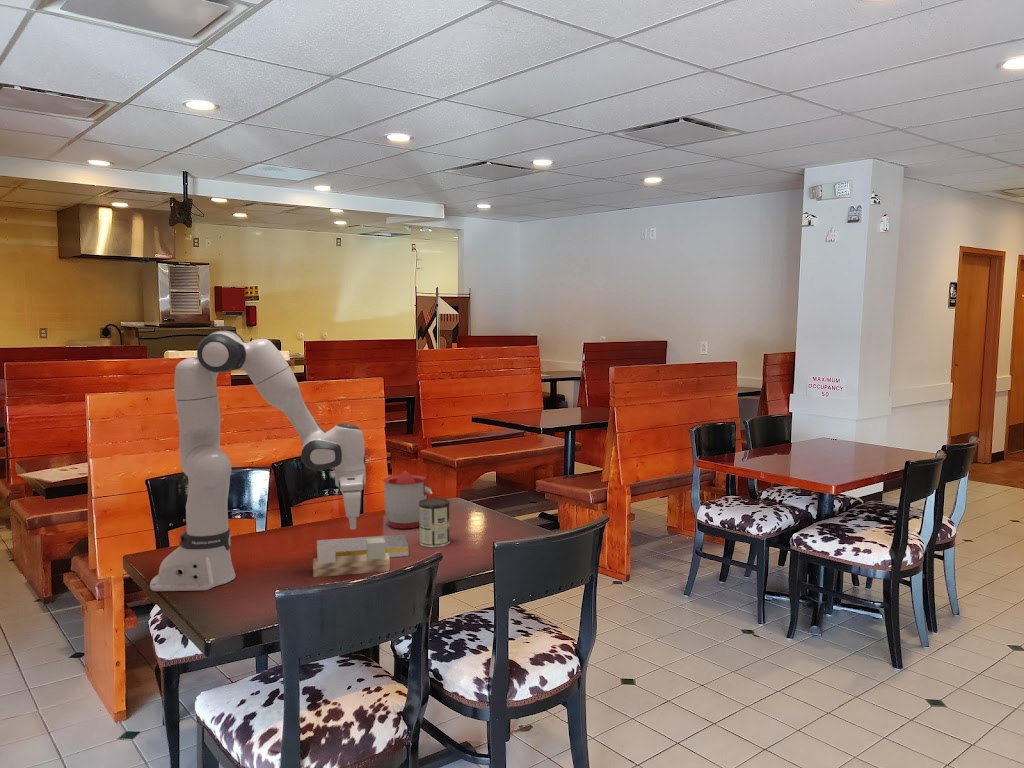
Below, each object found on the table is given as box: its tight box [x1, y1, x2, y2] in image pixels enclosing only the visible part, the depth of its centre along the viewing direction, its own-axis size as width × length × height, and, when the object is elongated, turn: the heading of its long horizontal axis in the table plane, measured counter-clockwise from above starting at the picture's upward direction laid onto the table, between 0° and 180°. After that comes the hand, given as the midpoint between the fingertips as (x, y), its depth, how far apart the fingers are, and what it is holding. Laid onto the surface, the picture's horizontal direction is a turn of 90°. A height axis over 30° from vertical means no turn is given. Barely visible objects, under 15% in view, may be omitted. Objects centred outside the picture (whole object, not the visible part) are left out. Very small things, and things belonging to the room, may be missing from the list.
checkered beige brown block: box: [312, 553, 391, 578], centre depth 227 cm, size 22×6×4 cm, turn 104°
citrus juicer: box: [383, 470, 433, 529], centre depth 276 cm, size 16×17×20 cm
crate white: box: [318, 541, 336, 564], centre depth 225 cm, size 5×5×5 cm
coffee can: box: [418, 497, 451, 548], centre depth 255 cm, size 10×10×14 cm
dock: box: [316, 534, 410, 558], centre depth 244 cm, size 28×14×3 cm, turn 104°
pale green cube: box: [367, 538, 385, 560], centre depth 229 cm, size 5×5×5 cm
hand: (352, 524), depth 226 cm, fingers open, 8 cm apart
